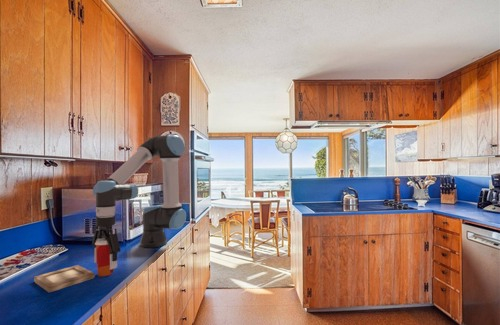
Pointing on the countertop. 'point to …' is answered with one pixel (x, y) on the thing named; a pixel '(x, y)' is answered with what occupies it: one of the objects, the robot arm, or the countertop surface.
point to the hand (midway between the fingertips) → (105, 265)
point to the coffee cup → (103, 257)
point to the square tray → (63, 278)
